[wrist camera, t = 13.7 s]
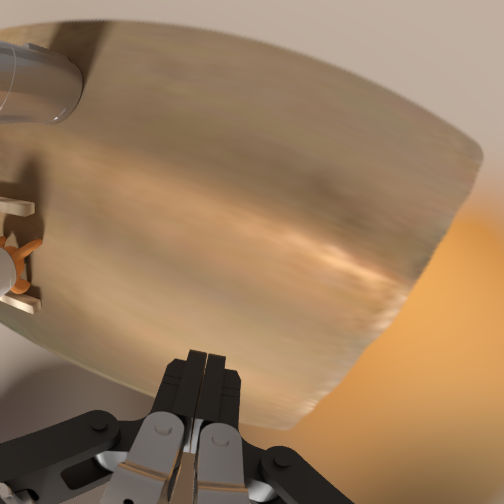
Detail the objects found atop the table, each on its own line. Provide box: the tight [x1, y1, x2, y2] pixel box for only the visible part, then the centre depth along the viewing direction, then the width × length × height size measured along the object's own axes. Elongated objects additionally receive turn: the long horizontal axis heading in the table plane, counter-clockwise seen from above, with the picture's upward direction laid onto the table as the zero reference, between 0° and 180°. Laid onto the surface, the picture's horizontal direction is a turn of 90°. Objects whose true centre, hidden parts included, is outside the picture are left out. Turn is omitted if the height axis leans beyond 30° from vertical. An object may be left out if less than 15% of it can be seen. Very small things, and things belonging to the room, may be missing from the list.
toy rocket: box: [0, 236, 42, 297], centre depth 34 cm, size 10×11×15 cm
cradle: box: [0, 197, 41, 314], centre depth 37 cm, size 13×18×5 cm
